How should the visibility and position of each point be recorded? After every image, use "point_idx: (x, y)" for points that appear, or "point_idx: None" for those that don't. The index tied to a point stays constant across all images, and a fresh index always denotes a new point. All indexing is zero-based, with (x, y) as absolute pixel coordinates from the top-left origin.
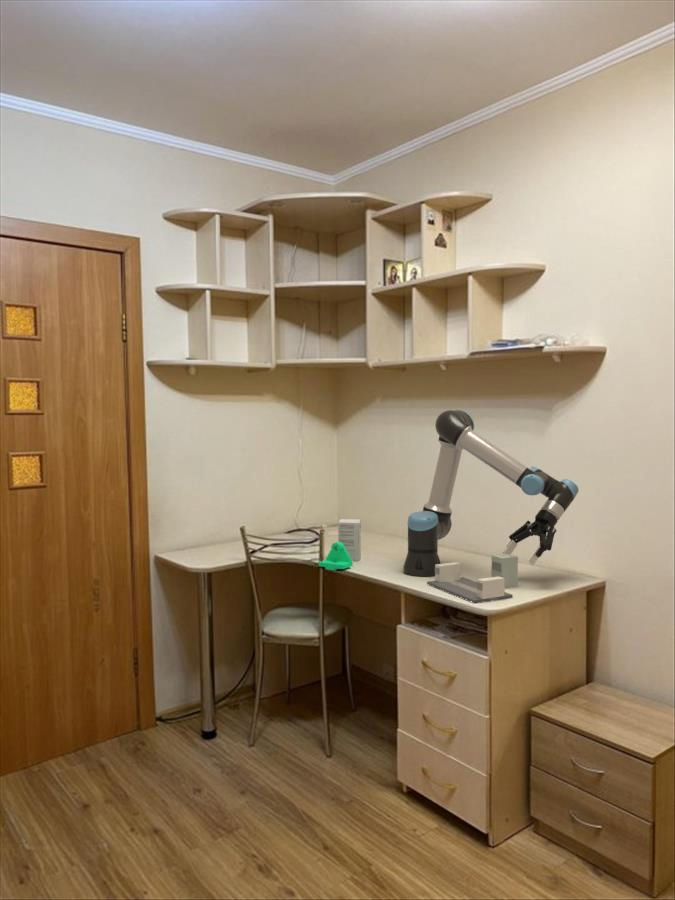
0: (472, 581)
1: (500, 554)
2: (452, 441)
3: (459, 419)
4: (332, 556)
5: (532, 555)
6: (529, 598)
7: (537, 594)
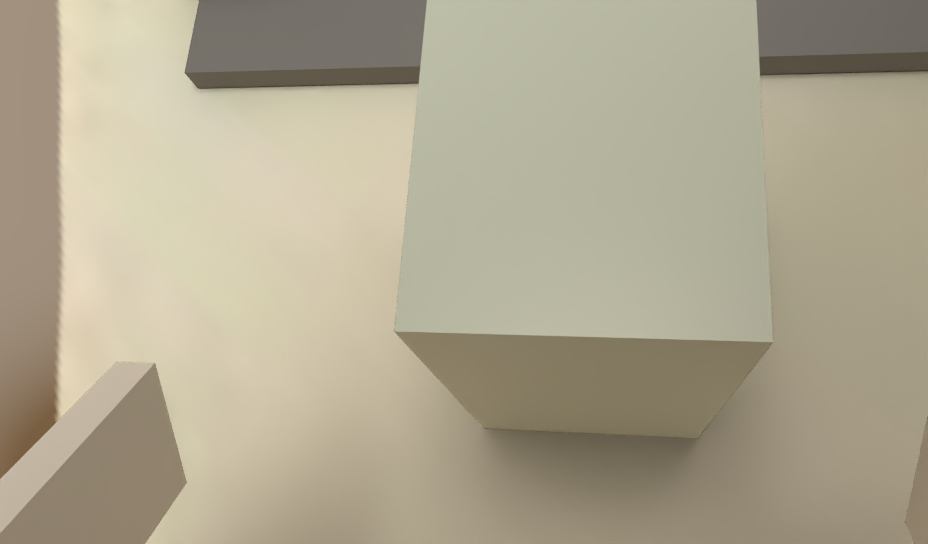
0: (829, 29)
1: (745, 154)
2: None
3: None
4: None
5: (40, 439)
6: (90, 207)
7: None
